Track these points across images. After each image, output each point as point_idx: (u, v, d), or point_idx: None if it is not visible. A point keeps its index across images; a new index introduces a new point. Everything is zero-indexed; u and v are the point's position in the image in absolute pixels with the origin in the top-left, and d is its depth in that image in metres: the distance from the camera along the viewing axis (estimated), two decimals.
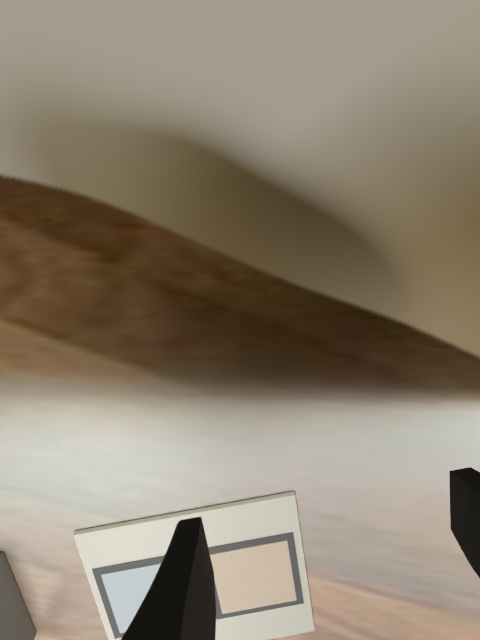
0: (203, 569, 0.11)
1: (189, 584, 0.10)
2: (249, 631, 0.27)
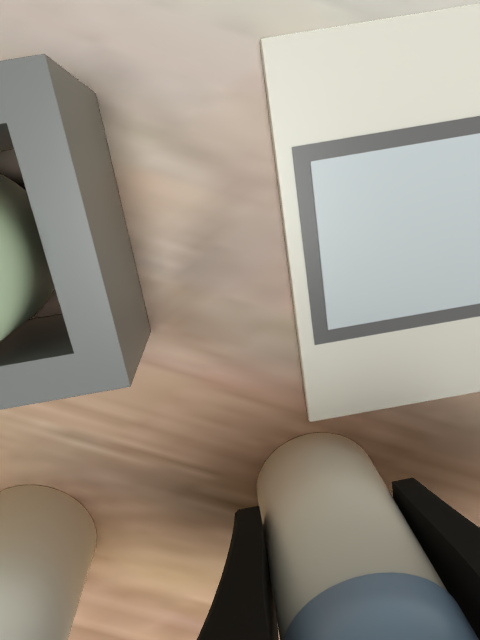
0: (266, 557, 0.11)
1: (263, 570, 0.10)
2: None
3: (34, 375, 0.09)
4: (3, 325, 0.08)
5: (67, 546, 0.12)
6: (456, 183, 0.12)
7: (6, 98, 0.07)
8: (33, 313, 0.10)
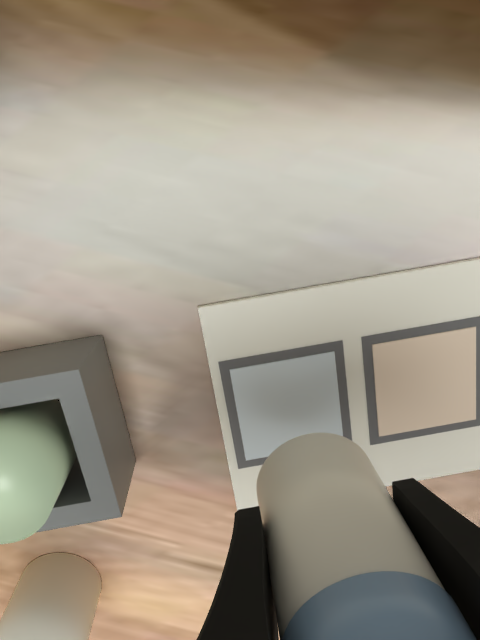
0: (266, 557, 0.11)
1: (262, 570, 0.10)
2: (409, 465, 0.21)
3: (69, 512, 0.16)
4: None
5: (83, 595, 0.20)
6: (319, 377, 0.19)
7: (59, 389, 0.15)
8: None
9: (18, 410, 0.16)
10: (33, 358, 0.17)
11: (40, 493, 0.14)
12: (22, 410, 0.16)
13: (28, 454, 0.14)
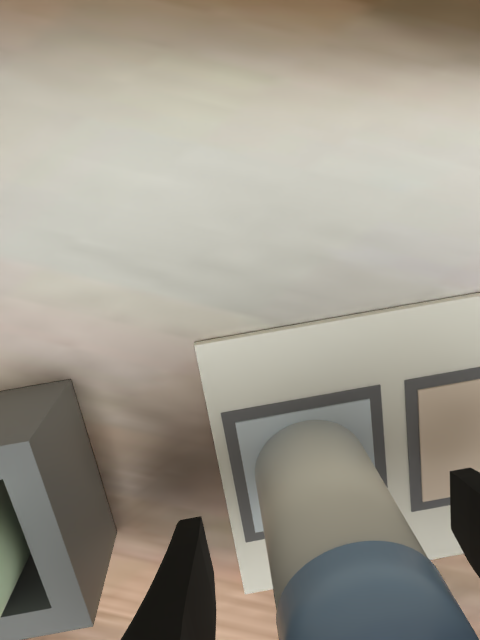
0: (203, 569, 0.11)
1: (189, 584, 0.10)
2: None
3: (23, 622, 0.12)
4: (0, 615, 0.11)
5: None
6: None
7: (2, 467, 0.11)
8: None
9: None
10: None
11: None
12: None
13: None
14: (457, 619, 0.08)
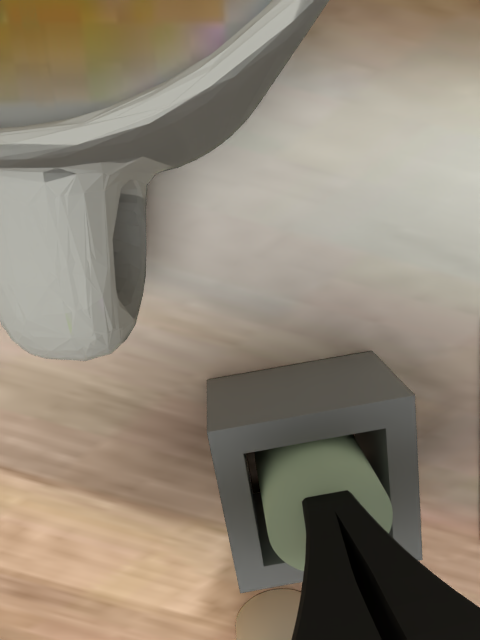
0: None
1: (347, 555, 0.10)
2: None
3: None
4: None
5: None
6: None
7: (390, 417, 0.13)
8: None
9: None
10: (321, 380, 0.15)
11: (381, 519, 0.13)
12: None
13: (374, 477, 0.13)
14: None
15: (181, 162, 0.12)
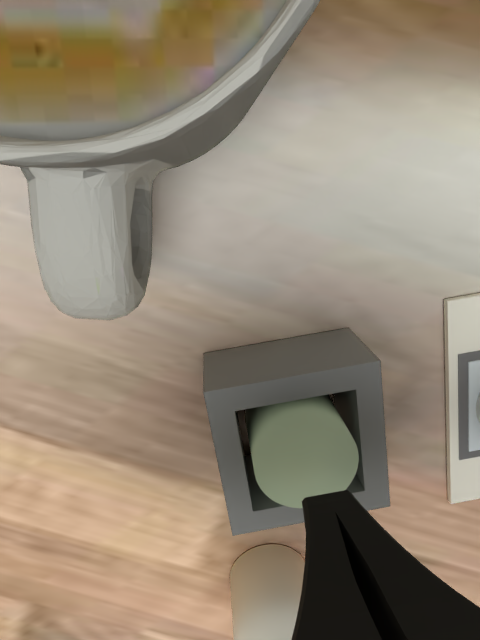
0: None
1: (347, 555, 0.10)
2: None
3: None
4: None
5: None
6: None
7: (359, 380, 0.15)
8: None
9: None
10: (303, 350, 0.17)
11: (348, 460, 0.15)
12: None
13: (342, 425, 0.15)
14: None
15: (181, 162, 0.14)
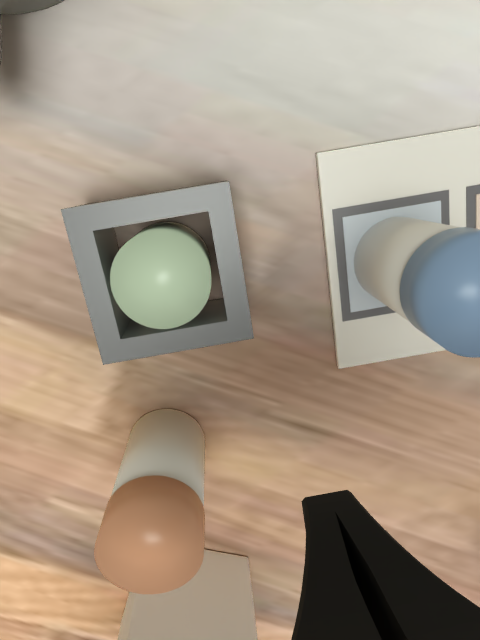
0: None
1: (347, 555, 0.10)
2: None
3: (207, 332, 0.18)
4: None
5: (198, 442, 0.21)
6: None
7: (210, 200, 0.16)
8: None
9: (169, 224, 0.18)
10: (171, 190, 0.18)
11: (201, 279, 0.16)
12: (171, 225, 0.18)
13: (193, 243, 0.16)
14: None
15: None
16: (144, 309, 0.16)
